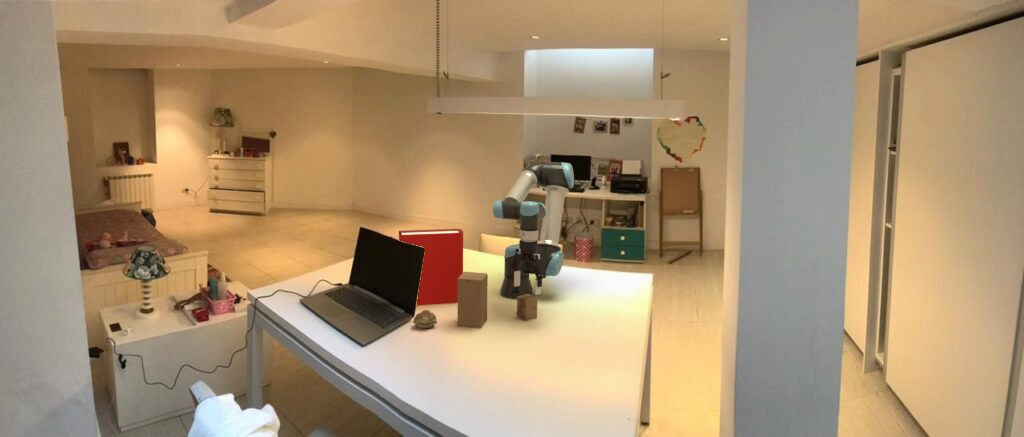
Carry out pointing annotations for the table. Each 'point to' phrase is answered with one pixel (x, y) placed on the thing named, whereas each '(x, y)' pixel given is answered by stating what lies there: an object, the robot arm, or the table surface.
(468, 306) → the wooden block
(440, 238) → the book
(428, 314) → the seashell
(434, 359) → the table surface
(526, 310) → the walnut block
